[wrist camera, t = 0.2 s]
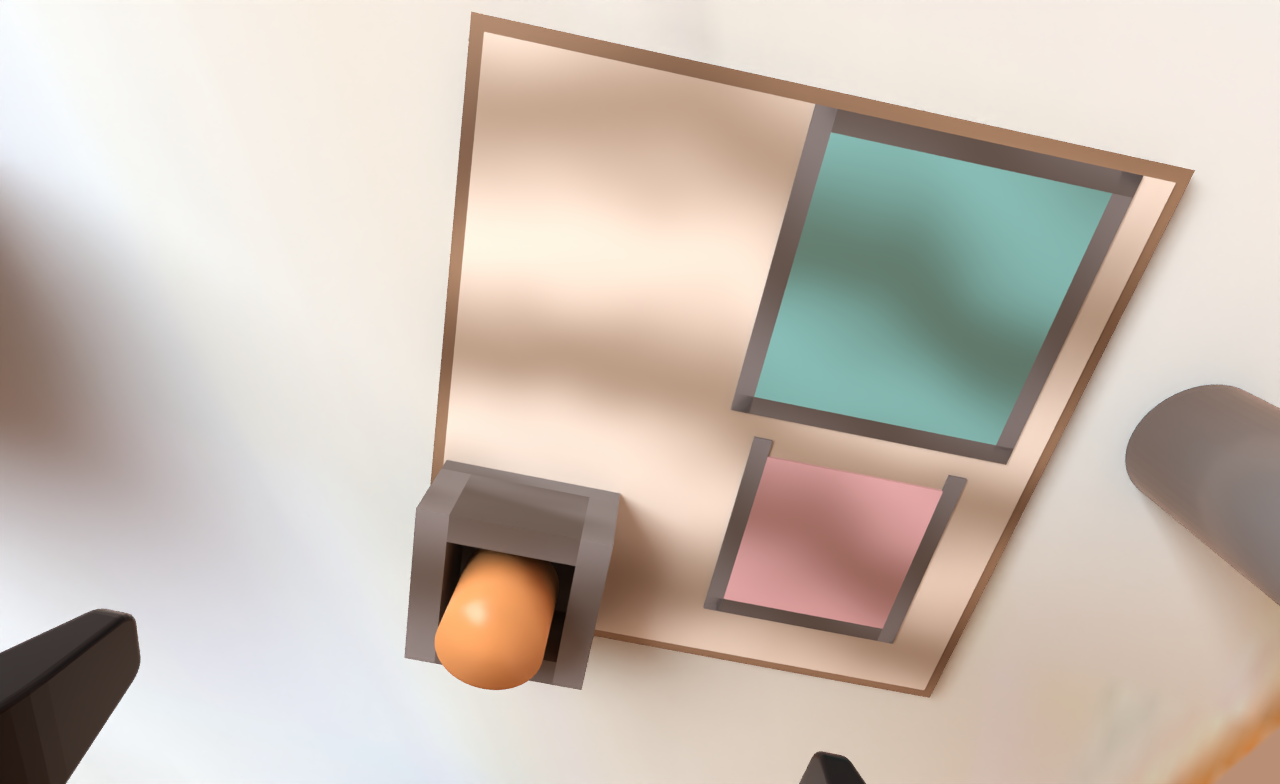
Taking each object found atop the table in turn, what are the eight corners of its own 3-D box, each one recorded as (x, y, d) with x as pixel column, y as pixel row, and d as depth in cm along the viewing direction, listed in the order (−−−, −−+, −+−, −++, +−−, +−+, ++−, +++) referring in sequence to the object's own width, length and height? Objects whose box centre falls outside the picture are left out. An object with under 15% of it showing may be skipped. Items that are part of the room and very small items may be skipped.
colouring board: (922, 681, 27) (960, 769, 24) (427, 589, 26) (388, 666, 23) (1175, 167, 19) (1289, 182, 16) (479, 15, 18) (433, -6, 15)
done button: (551, 627, 23) (535, 698, 20) (459, 610, 23) (430, 679, 20) (565, 552, 22) (550, 616, 19) (468, 533, 22) (439, 596, 19)
